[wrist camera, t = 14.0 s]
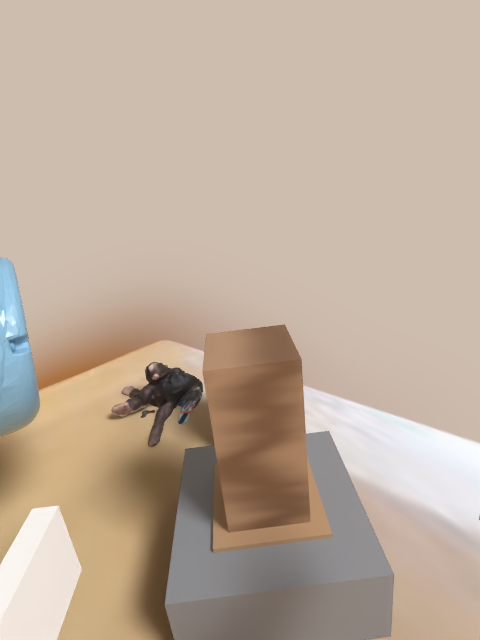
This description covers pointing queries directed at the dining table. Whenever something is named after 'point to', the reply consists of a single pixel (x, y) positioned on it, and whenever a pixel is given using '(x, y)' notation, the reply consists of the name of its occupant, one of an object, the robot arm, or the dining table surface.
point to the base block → (277, 562)
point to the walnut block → (258, 426)
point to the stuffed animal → (162, 396)
